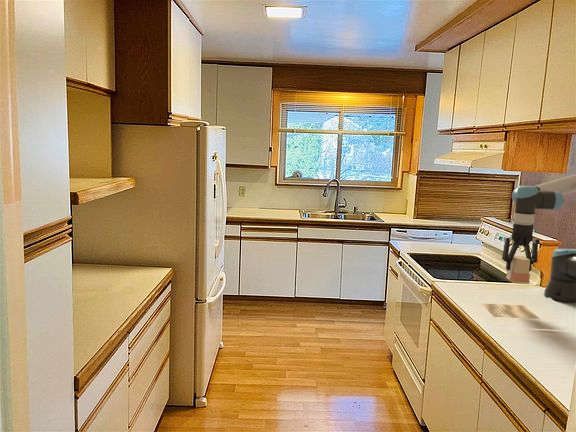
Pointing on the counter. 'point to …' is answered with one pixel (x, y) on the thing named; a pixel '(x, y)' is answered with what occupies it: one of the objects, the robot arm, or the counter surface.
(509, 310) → the board
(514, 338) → the counter surface
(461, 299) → the counter surface
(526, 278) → the block
